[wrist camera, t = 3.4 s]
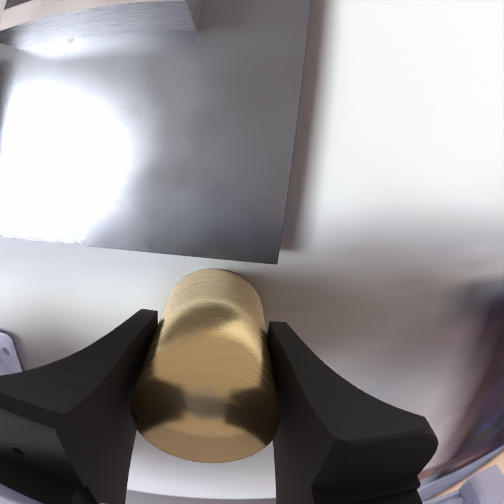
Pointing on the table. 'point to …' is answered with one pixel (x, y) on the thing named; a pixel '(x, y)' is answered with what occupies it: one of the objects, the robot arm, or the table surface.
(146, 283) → the table surface
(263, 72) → the socket plate
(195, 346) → the pipe stub
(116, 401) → the robot arm
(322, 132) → the table surface
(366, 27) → the table surface
